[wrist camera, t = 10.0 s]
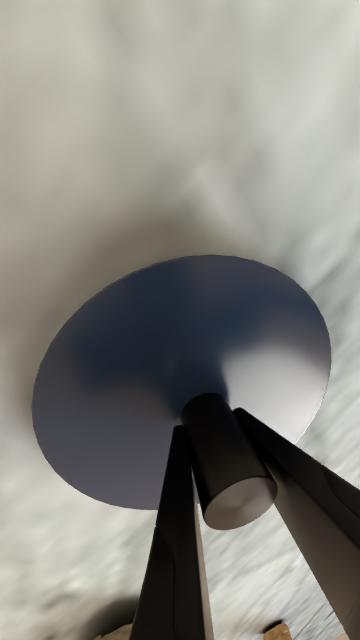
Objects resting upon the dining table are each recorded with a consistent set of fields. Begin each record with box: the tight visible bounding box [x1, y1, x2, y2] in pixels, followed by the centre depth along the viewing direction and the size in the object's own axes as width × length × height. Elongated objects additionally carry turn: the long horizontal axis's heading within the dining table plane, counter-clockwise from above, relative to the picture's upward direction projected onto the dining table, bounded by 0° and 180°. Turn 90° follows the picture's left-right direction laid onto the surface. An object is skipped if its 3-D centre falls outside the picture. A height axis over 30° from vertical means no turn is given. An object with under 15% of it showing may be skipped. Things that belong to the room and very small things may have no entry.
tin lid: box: [32, 255, 331, 530], centre depth 8 cm, size 15×15×5 cm
